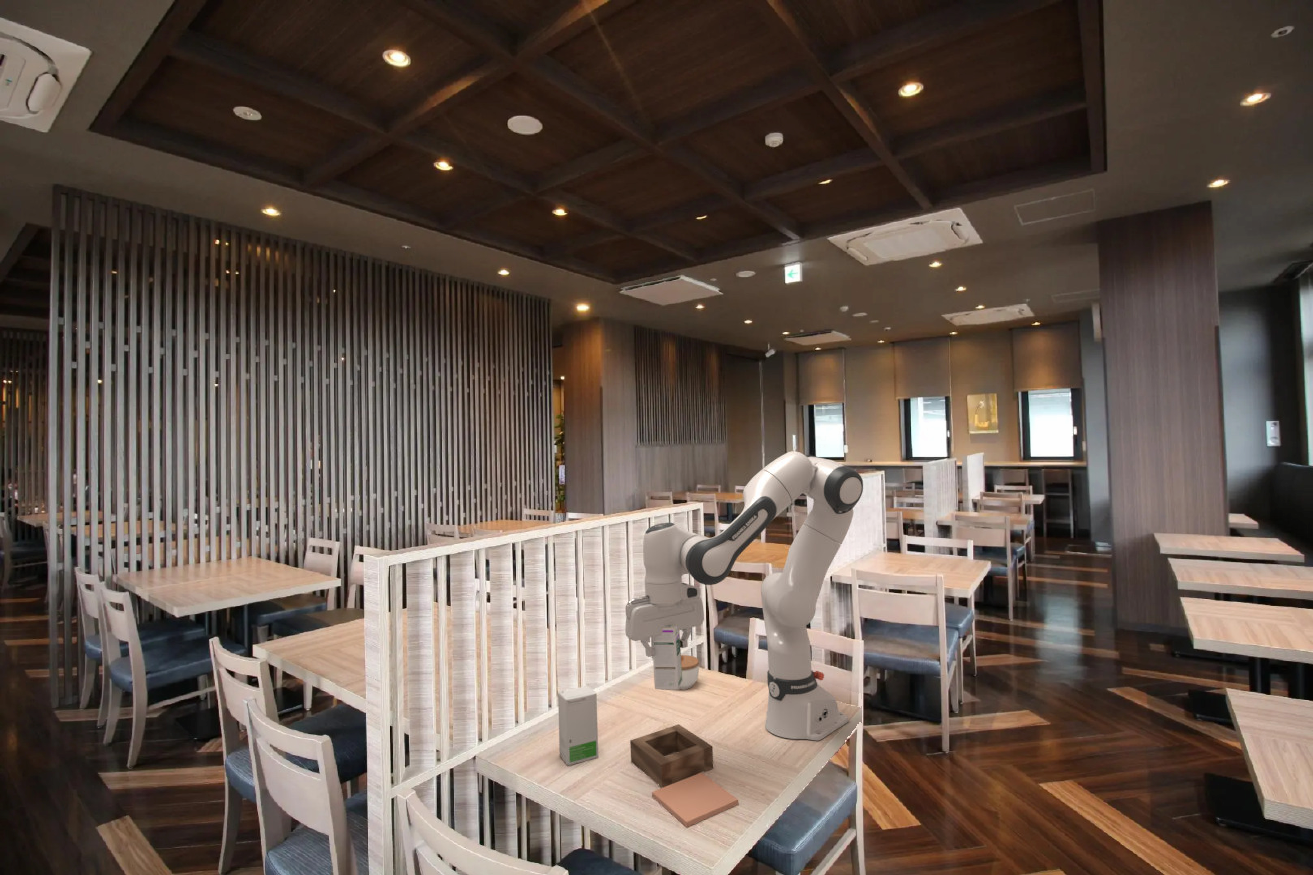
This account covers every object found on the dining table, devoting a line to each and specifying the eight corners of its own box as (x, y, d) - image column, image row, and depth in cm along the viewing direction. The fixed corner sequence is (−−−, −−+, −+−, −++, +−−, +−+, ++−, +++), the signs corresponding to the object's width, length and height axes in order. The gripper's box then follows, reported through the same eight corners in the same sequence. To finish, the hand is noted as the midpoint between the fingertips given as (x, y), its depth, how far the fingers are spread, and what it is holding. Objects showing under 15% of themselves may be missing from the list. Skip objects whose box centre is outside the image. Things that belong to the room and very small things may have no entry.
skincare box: (567, 766, 143) (564, 700, 143) (558, 754, 149) (555, 691, 149) (600, 757, 147) (597, 692, 147) (590, 745, 152) (587, 683, 153)
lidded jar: (663, 692, 185) (662, 661, 185) (668, 678, 195) (667, 649, 196) (698, 692, 183) (696, 661, 183) (701, 679, 194) (700, 649, 194)
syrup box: (678, 690, 139) (676, 627, 139) (653, 689, 140) (651, 626, 140) (682, 681, 144) (680, 620, 145) (658, 680, 145) (656, 619, 146)
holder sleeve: (679, 744, 151) (678, 724, 151) (713, 767, 139) (712, 745, 139) (631, 761, 144) (630, 740, 144) (662, 787, 132) (661, 764, 132)
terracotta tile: (701, 776, 136) (701, 772, 136) (738, 804, 125) (738, 799, 125) (652, 796, 129) (652, 791, 129) (686, 827, 118) (686, 821, 118)
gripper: (632, 602, 134) (635, 665, 134) (706, 587, 145) (709, 645, 145) (618, 597, 140) (622, 657, 139) (691, 583, 151) (694, 639, 150)
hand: (667, 651), depth 142 cm, fingers closed on syrup box, 8 cm apart
